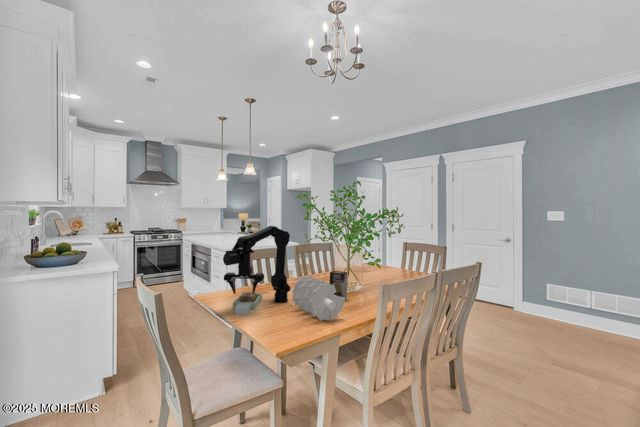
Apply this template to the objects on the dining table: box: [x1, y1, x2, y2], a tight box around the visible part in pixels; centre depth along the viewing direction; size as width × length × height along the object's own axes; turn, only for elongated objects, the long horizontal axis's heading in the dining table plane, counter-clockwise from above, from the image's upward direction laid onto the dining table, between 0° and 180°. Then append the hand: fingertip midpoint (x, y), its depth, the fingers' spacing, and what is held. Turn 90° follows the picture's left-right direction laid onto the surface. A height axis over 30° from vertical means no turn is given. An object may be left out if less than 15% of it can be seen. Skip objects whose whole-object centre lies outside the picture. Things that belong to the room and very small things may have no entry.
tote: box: [232, 292, 263, 311], centre depth 162 cm, size 12×17×4 cm
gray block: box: [234, 303, 251, 316], centre depth 149 cm, size 6×6×4 cm
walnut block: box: [238, 292, 257, 302], centre depth 159 cm, size 7×7×6 cm
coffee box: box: [329, 270, 348, 301], centre depth 174 cm, size 9×6×16 cm
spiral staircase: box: [291, 274, 346, 321], centre depth 149 cm, size 18×18×25 cm
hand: (244, 294), depth 149 cm, fingers open, 9 cm apart
